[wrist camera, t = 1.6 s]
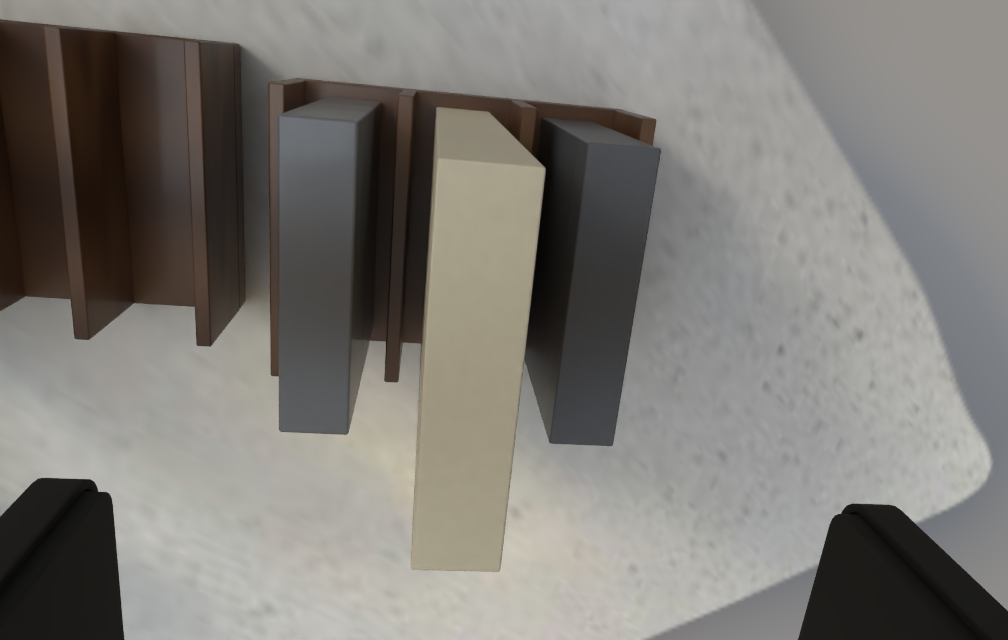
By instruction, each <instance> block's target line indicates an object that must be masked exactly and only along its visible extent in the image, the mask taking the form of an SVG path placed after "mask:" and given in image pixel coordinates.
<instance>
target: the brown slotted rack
mask: <svg viewBox="0 0 1008 640" xmlns="http://www.w3.org/2000/svg"><path fill="white" fill-rule="evenodd" d="M436 107H444V108H454V109H465V110H476V111H486V112H489V113H490V114H491V115H492V116H493V117H494V118H495V119H496V120H497V121H498V122H499V123H501V124H502V125H503V126H504V127H505V128H506V129H507V130H508V131H509V132H510V133H511V134H512V135H513V136H514V137H515V138H516V139H517V140H518V141H519V142H520V143H521V144H522V145H523V146H524V147H525V148H526V149H527V150H528V151H529V152H530V153H531V154H532V155H533V156H534V157H535V158H536V159H537V160H538V161H539V162H540V163H541V164H542V165H543V166H544V167H545V169H546V173H545V181H544V190H543V199H542V208H541V216H540V225H539V234H538V243H537V252H536V260H535V269H534V278H533V287H532V296H531V304H530V313H529V322H528V331H527V339H526V348H525V357H524V359H525V362H526V366H527V369H528V373H529V376H530V379H531V383H532V386H533V389H534V393H535V396H536V399H537V403H538V406H539V409H540V413H541V416H542V419H543V423H544V426H545V429H546V433H547V436H548V439H549V443H552V444H575V445H599V446H612V445H613V441H614V435H615V429H616V423H617V417H618V411H619V404H620V398H621V392H622V386H623V380H624V374H625V368H626V362H627V355H628V349H629V343H630V337H631V331H632V325H633V319H634V312H635V306H636V300H637V294H638V288H639V282H640V276H641V270H642V263H643V257H644V251H645V245H646V239H647V233H648V227H649V221H650V214H651V208H652V202H653V196H654V190H655V184H656V178H657V171H658V165H659V159H660V153H661V150H660V149H659V148H657V147H654V146H652V145H653V139H654V132H655V126H656V119H653V118H649V117H646V116H642V115H639V114H635V113H631V112H628V111H624V110H620V109H611V108H601V107H590V106H580V105H570V104H559V103H549V102H539V101H529V100H518V99H508V98H498V97H487V96H477V95H467V94H456V93H446V92H436V91H425V90H415V89H405V88H394V87H384V86H374V85H363V84H353V83H343V82H333V81H322V80H312V79H302V78H295V79H289V80H282V81H275V82H269V206H270V331H271V376H279V430H280V431H281V432H298V433H321V434H345V435H346V434H348V432H349V429H350V424H351V420H352V415H353V411H354V407H355V402H356V398H357V394H358V389H359V385H360V381H361V376H362V372H363V368H364V363H365V359H366V355H367V350H368V346H369V341H370V340H371V341H386V358H385V379H384V380H385V382H398V380H399V371H400V362H401V353H402V344H403V342H406V343H421V336H422V320H423V304H424V288H425V272H426V257H427V241H428V225H429V210H430V194H431V178H432V163H433V147H434V131H435V115H436Z"/></svg>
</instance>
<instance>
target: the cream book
mask: <svg viewBox="0 0 1008 640" xmlns="http://www.w3.org/2000/svg"><path fill="white" fill-rule="evenodd" d="M545 173H546V169H545V167H544V166H543V165H542V164H541V163H540V162H539V161H538V160H537V159H536V158H535V157H534V156H533V155H532V154H531V153H530V152H529V151H528V150H527V149H526V148H525V147H524V146H523V145H522V144H521V143H520V142H519V141H518V140H517V139H516V138H515V137H514V136H513V135H512V134H511V133H510V132H509V131H508V130H507V129H506V128H505V127H504V126H503V125H502V124H501V123H499V122H498V121H497V120H496V119H495V118H494V117H493V116H492V115H491V114H490V113H489V112H486V111H476V110H465V109H454V108H444V107H436V115H435V131H434V147H433V163H432V178H431V194H430V210H429V225H428V241H427V257H426V272H425V288H424V304H423V320H422V336H421V358H420V379H419V400H418V421H417V443H416V464H415V485H414V506H413V528H412V549H411V569H412V570H445V571H491V572H499V571H500V568H501V559H502V550H503V542H504V533H505V524H506V515H507V506H508V498H509V489H510V480H511V471H512V462H513V454H514V445H515V436H516V427H517V419H518V410H519V401H520V392H521V383H522V375H523V366H524V357H525V348H526V339H527V331H528V322H529V313H530V304H531V296H532V287H533V278H534V269H535V260H536V252H537V243H538V234H539V225H540V216H541V208H542V199H543V190H544V181H545Z"/></svg>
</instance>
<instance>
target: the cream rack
mask: <svg viewBox="0 0 1008 640" xmlns="http://www.w3.org/2000/svg"><path fill="white" fill-rule="evenodd" d="M25 296H28V297H45V298H61V299H71V307H72V316H73V326H74V336H75V339H84V340H89V339H91V338H92V337H93V336H94V335H96V334H97V333H98V332H99V331H101V330H102V329H103V328H104V327H105V326H107V325H108V324H109V323H110V322H112V321H113V320H114V319H115V318H116V317H118V316H119V315H120V314H121V313H123V312H124V311H125V310H126V309H128V308H129V307H130V306H131V305H132V304H133V303H143V304H159V305H176V306H192V307H195V318H196V341H197V346H211V345H212V344H213V343H214V342H215V340H216V339H217V338H218V336H219V335H220V334H221V333H222V331H223V330H224V329H225V327H226V326H227V325H228V324H229V322H230V321H231V320H232V318H233V317H234V316H235V315H236V313H237V312H238V311H239V309H240V308H241V306H242V305H243V304H244V302H245V264H244V213H243V162H242V112H241V61H240V45H239V44H236V43H226V42H216V41H206V40H196V39H187V38H177V37H167V36H157V35H147V34H137V33H127V32H117V31H108V30H98V29H88V28H78V27H68V26H58V25H48V24H38V23H29V22H19V21H9V20H0V311H1V310H3V309H5V308H7V307H8V306H10V305H12V304H13V303H15V302H17V301H19V300H20V299H22V298H24V297H25Z"/></svg>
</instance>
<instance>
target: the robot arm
mask: <svg viewBox="0 0 1008 640" xmlns="http://www.w3.org/2000/svg"><path fill="white" fill-rule="evenodd" d="M0 640H124V632H123V620H122V609H121V597H120V585H119V573H118V562H117V550H116V538H115V526H114V515H113V504H112V498H111V496H110V494H109V493H107V492H98V489H97V486H96V484H95V482H93V481H92V480H90V479H59V478H40V479H37V480H36V481H35V482H33V483H32V484H31V485H30V486H29V487H28V488H27V489H26V490H25V491H24V492H23V494H22V495H21V496H20V497H19V498H18V499H17V500H16V501H15V502H14V503H13V504H12V505H11V506H10V507H9V508H8V509H7V510H6V511H5V512H4V513H3V514H2V516H1V517H0ZM798 640H1008V611H1007V610H1006V609H1005V608H1004V607H1003V606H1002V605H1001V604H1000V603H999V602H997V600H995V599H994V598H993V597H992V596H991V595H990V594H989V593H988V592H987V591H986V590H985V589H984V588H983V587H982V586H981V585H980V584H978V583H977V582H976V581H975V580H974V579H973V578H972V577H971V576H970V575H969V574H968V573H967V572H966V571H965V570H964V569H963V568H961V566H959V565H958V564H957V563H956V562H955V561H954V560H953V559H952V558H951V557H950V556H949V555H948V554H947V553H946V552H945V551H944V550H943V549H941V548H940V547H939V546H938V545H937V544H936V543H935V542H934V541H933V540H932V539H931V538H930V537H929V536H928V535H927V534H925V533H924V532H923V531H922V530H921V529H920V528H919V527H918V526H917V525H916V524H915V523H914V522H913V521H912V520H911V519H910V518H909V517H908V516H907V515H905V514H904V513H903V512H902V511H901V510H900V509H898V508H897V507H895V506H892V505H878V504H850V505H848V506H846V507H845V509H844V510H843V511H842V513H841V514H838V515H835V516H834V518H833V519H832V521H831V523H830V526H829V530H828V533H827V537H826V540H825V544H824V548H823V551H822V555H821V559H820V562H819V566H818V569H817V573H816V577H815V580H814V584H813V588H812V591H811V595H810V599H809V602H808V606H807V610H806V613H805V617H804V621H803V624H802V628H801V631H800V635H799V638H798Z"/></svg>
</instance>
